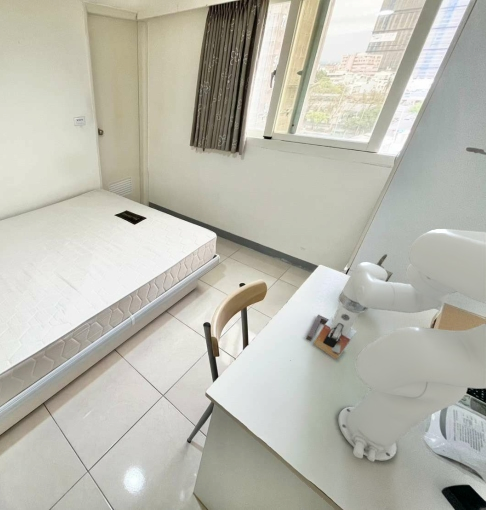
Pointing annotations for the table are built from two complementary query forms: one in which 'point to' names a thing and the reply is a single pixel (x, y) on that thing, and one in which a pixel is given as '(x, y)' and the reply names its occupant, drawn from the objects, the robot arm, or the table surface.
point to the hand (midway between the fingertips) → (331, 337)
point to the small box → (339, 345)
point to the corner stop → (315, 325)
